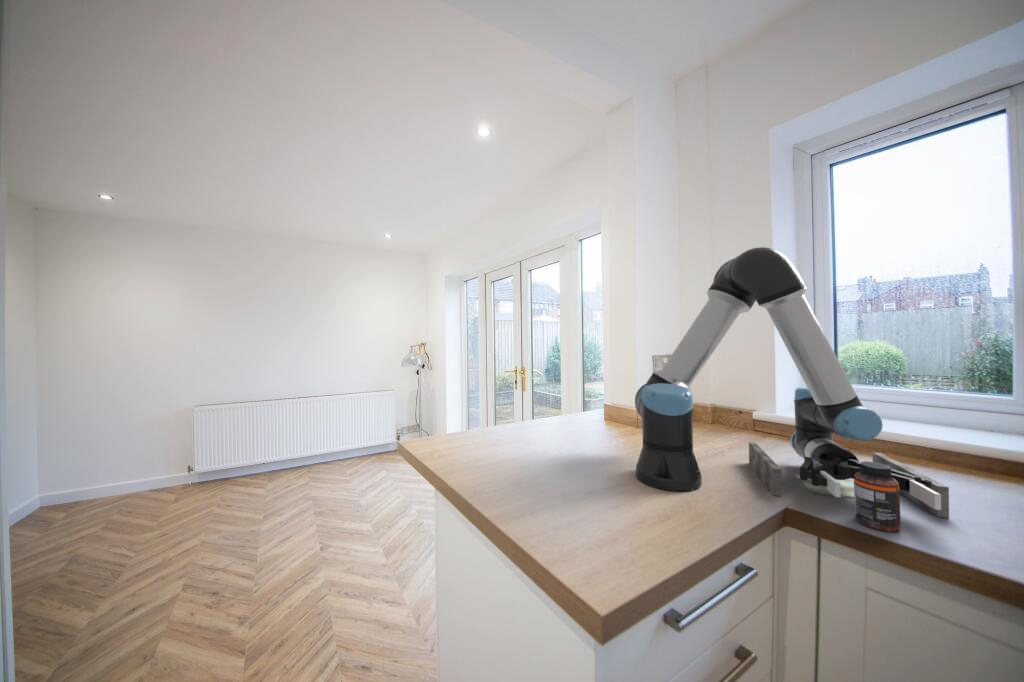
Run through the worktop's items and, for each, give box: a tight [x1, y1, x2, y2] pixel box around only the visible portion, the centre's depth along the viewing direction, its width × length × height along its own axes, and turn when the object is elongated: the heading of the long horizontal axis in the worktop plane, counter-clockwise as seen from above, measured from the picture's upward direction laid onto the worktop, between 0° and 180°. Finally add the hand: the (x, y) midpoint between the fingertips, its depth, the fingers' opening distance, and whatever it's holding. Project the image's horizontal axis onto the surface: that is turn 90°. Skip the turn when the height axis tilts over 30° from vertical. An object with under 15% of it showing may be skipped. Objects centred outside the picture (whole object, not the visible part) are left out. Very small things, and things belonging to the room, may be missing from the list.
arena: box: [748, 441, 950, 519], centre depth 83 cm, size 22×28×6 cm
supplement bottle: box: [853, 460, 902, 532], centre depth 65 cm, size 6×6×11 cm
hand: (886, 495), depth 63 cm, fingers open, 13 cm apart
